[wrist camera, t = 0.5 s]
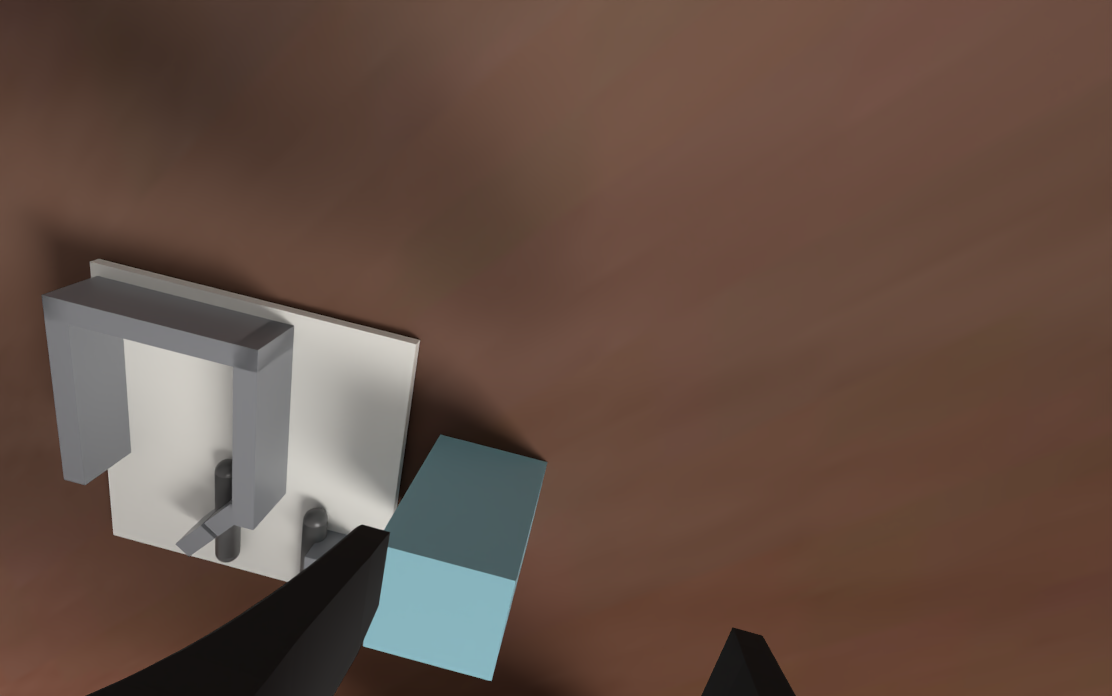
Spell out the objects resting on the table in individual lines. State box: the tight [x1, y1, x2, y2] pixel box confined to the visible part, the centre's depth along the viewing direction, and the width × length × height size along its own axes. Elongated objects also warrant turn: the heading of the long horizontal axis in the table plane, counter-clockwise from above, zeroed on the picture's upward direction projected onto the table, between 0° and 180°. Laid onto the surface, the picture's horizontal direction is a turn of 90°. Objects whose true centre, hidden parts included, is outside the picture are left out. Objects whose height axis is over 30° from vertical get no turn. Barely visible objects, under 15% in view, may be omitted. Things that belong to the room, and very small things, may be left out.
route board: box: [90, 259, 420, 582], centre depth 23 cm, size 12×12×2 cm
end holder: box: [42, 276, 294, 530], centre depth 22 cm, size 7×7×3 cm
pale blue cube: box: [363, 434, 547, 681], centre depth 21 cm, size 5×4×6 cm
